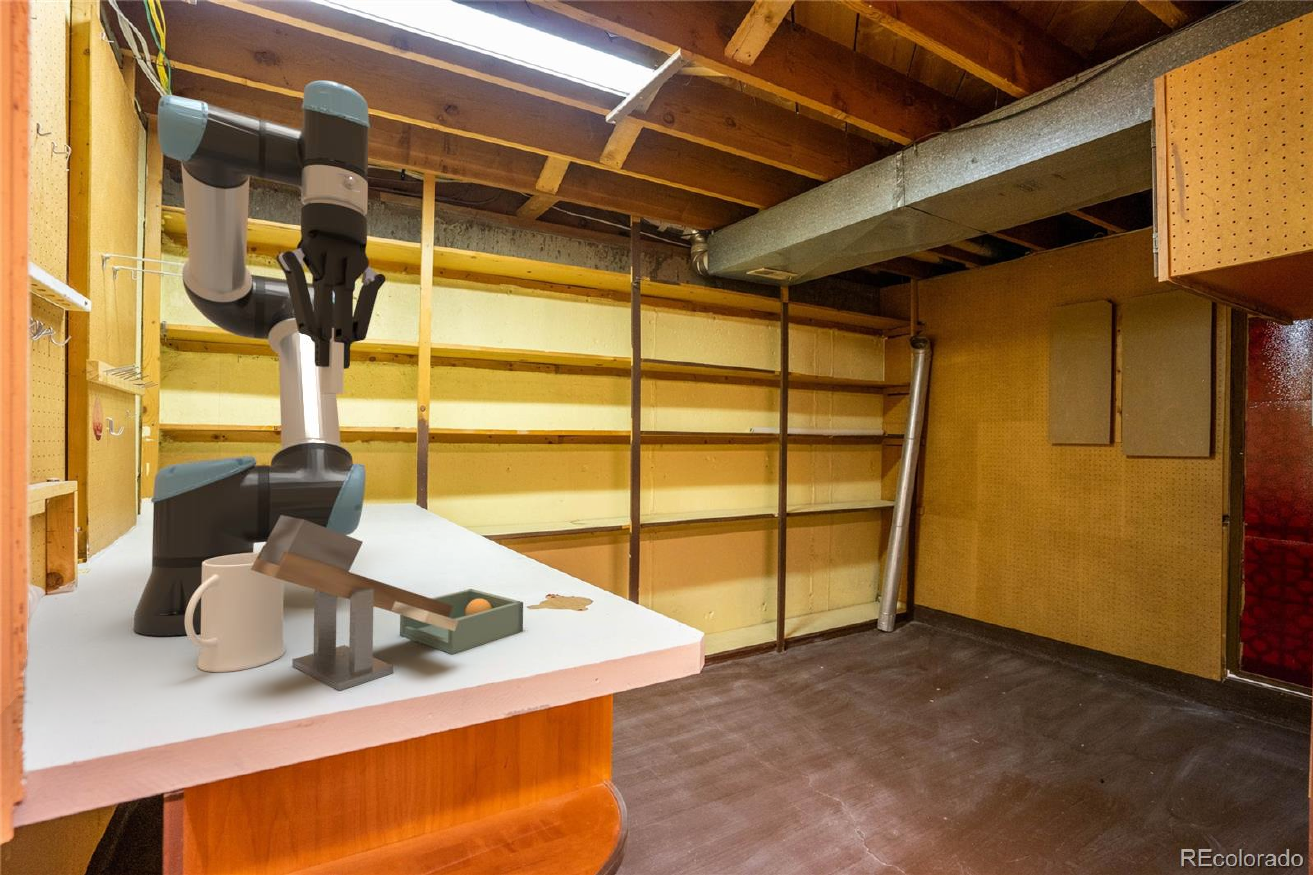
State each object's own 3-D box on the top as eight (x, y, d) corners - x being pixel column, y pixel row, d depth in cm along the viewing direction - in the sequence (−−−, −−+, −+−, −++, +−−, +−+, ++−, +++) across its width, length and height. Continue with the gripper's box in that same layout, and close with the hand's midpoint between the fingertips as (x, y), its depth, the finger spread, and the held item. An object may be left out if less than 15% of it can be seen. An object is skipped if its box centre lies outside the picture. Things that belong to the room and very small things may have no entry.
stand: (292, 666, 68) (293, 581, 68) (344, 651, 73) (345, 572, 73) (339, 690, 62) (340, 597, 62) (393, 672, 67) (394, 586, 67)
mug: (212, 688, 62) (214, 574, 62) (147, 680, 64) (149, 570, 64) (301, 649, 74) (303, 553, 74) (244, 643, 75) (246, 550, 75)
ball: (485, 606, 86) (469, 627, 84) (471, 591, 84) (455, 612, 82) (501, 610, 84) (485, 632, 81) (487, 595, 82) (471, 617, 80)
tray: (399, 635, 79) (400, 605, 79) (470, 615, 88) (471, 588, 88) (452, 654, 72) (452, 622, 72) (522, 630, 82) (523, 602, 82)
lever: (249, 569, 62) (279, 514, 65) (417, 617, 78) (436, 572, 81) (306, 588, 55) (337, 526, 57) (478, 637, 71) (497, 587, 73)
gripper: (293, 186, 68) (290, 388, 68) (398, 221, 79) (395, 396, 79) (266, 200, 73) (262, 390, 73) (369, 231, 83) (366, 397, 83)
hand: (332, 393), depth 76 cm, fingers closed
